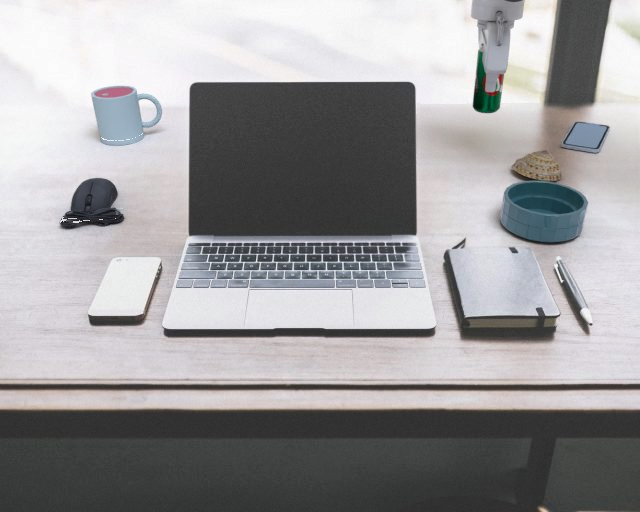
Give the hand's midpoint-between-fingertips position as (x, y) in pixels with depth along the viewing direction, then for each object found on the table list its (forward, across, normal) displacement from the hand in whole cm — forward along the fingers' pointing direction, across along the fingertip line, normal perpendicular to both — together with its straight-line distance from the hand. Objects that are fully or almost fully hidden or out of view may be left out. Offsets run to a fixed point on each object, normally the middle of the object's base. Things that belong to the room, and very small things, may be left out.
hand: (488, 86), depth 115 cm
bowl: (+14, -28, -8) cm, 32 cm away
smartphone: (+14, +12, -22) cm, 29 cm away
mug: (+13, +2, +74) cm, 75 cm away
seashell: (+14, -8, -10) cm, 19 cm away
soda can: (+5, 0, 0) cm, 5 cm away
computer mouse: (+13, -31, +65) cm, 74 cm away
